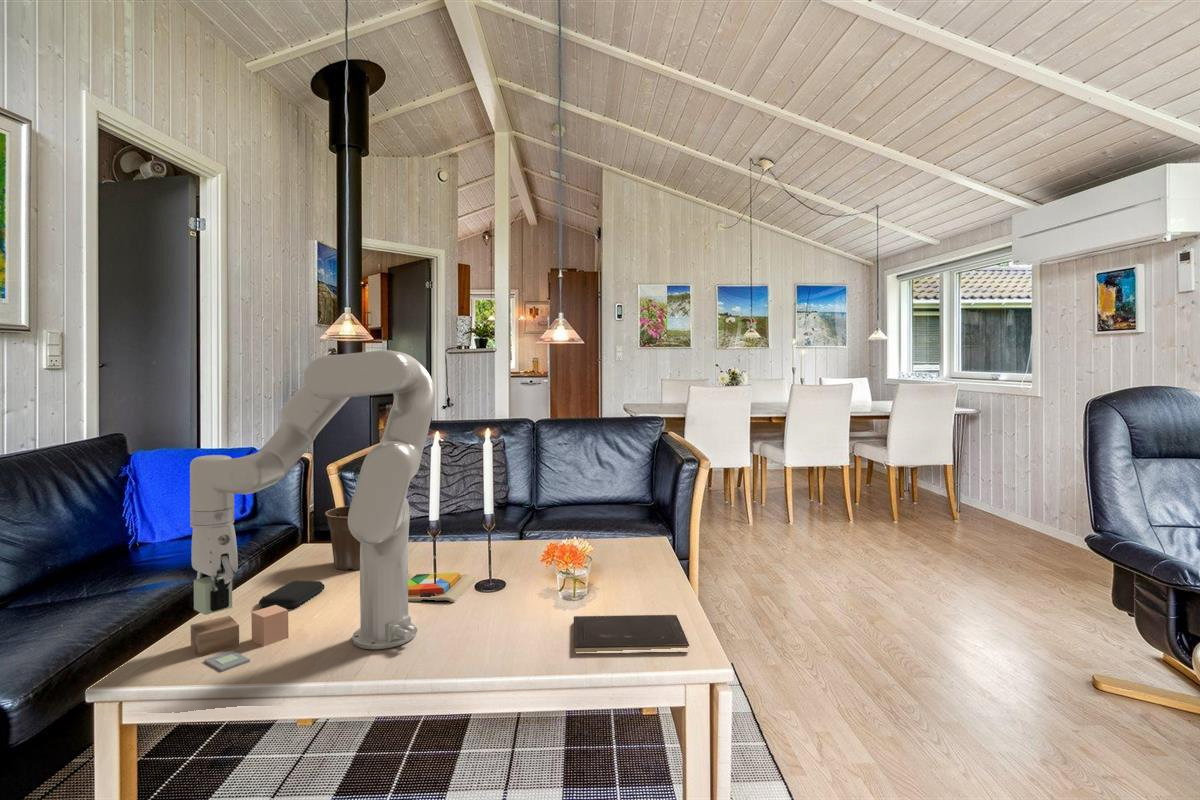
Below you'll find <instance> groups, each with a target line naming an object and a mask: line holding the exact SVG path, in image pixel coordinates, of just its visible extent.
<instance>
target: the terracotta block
mask: <svg viewBox="0 0 1200 800" xmlns="http://www.w3.org/2000/svg"><path fill="white" fill-rule="evenodd" d="M289 638H290V637H289V610H287V609H285V608H282V607H280V606H277V605H273V606H270V607H267V608H263V607H262V608H261V609H258V610H257V609H256V610H254V611H251V642H253V643H254V642H255V643H256V644H258V645H261V646H262V647H266V646H269V645H272V644H276V643H278V642H281V641H284V640H286V639H289Z"/></svg>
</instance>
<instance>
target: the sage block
mask: <svg viewBox="0 0 1200 800" xmlns="http://www.w3.org/2000/svg"><path fill="white" fill-rule="evenodd" d="M222 577H223V576H222ZM222 577H218V578H217V583H218V581H219V580H220V579H222ZM210 591H213V589H212V581H211V576H209V577H204V578H200V579H197V578H196V579H194V580H193V610H194V611H196V612H198V613H200V614H203V615H205V616H207V615H210V614H215V613H217V612H221V611H224V610H228V609H232V608H233V579H232V580H231V582H230V588H229V607H227V608H224V609H220V610H217V611H211V602H210Z"/></svg>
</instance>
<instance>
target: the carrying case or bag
mask: <svg viewBox="0 0 1200 800" xmlns="http://www.w3.org/2000/svg"><path fill="white" fill-rule="evenodd" d="M324 590H325V584H324V583H323V581H319V580H293V581H290V582H288V583H286V584H284V585H283V586H281V587H279V588H276V590H274V591H272V592H270V593H269V594H267V595H263V596H262V597H261V598H260V599H259V601H258V604H259V606H260V607H261V608H262V609H263V608H267V607H270V606H273V605H277V606H280V607H282V608H285V609H292V610H296V609H298V608H299V607H301V606H302V605H304V604H305V602H306V603H307V602H309V601H310V600H312V599H313V598H315V597H316V596H318V595H319V594H321V593H322V592H323V591H324ZM320 592H321V593H320ZM317 594H318V595H317ZM314 596H315V597H314ZM311 598H312V599H311ZM308 600H309V601H308ZM300 605H301V606H300ZM297 607H298V608H297ZM295 608H296V609H295Z"/></svg>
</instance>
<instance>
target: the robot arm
mask: <svg viewBox="0 0 1200 800" xmlns="http://www.w3.org/2000/svg"><path fill="white" fill-rule="evenodd" d="M306 366H307V367H306V369H305V371H304V373H303V382H304V383H303V384H302V385H301V387H299V388H298V389H297V390H296V392H295V393H294V394H292V396H291V397H290V399H289V400H288V401H287V402H285V404H284V405H283V406H282V407H281V409H280V424H279V425H278V428H277V430H276V431H275V432H274V434H273V435H272V436H271V437H270V438H269V439H268V441H266V443H265V444H264V445H263V446H262V447H260V449H259V450H258V451H257V452H255V453H250V454H248V455H244V456H241V457H234V458H232V457H231V456H229V455H223V454H211V455H209V454H208V455H201V456H197V457H194V458H193V459H191V461H190V463H189V464H190V465H189V513H190V514H189V518H190V519H189V521H190V524H189V525H190V526H189V527H190V528H192V535H191V548H190V549H191V559H190V560H191V567H192V569H193V570H195V575H196V579H200V578H204V577H209V576H211V581H212V589H213V591H210V602H211V611H217V610H220V609H224V608H227V607H229V588H230V582H231V580H232V581H233V579H234V576H235V575H234V573H235V572H237V571H238V567H239V563H238V562H239V561H238V560H239V559H238V545H237V544H238V543H237V536H236V529H235V525H234V523H235V494H236V495H250V494H255V493H257V492H259V491H262V490H263V489H266V488H268V487H271V486H273V485H275V484H276V483H278V482H279V481H280V480H282V479H283V478H284V477H285V476H286V475H287V474H288V473H289V472H290V470H291V469H292V468H293V467H294V466H295V465H296V464H297V462H298V461H299V460H300V459H301V458H302V457H303V455H304V454H305V453H306V452H307V450H308V449H309V447H310V446H311V445H312V443H313V442H314V441H315V440H316V437H317V436H318V434H319V433H320V432H321V431H322V430H323V429H324V427H325V426H326V425H327V424H328V423H329V422H330V420H332V418H333V417H334V416H335V415H336V414H337V413H338V412H339V411H340V410H341V408H342V407H343V406H344V405H345V404H346V403H347V401H349V400H350V399H351V398H356V397H365V396H373V395H384V394H385V395H387V394H393V403H392V406H391V408H390V411H389V414H388V416H387V420H386V424H385V428H384V431H383V434H382V438H381V440H380V443H378V444H376V445H375V446H373V447H372V448H371V449H370V450H369V452H368V453H367V454H366V456H365V458H364V460H363V461H362V462H363V463H362V465H361V468H360V471H359V475H358V477H357V481H356V485H355V488H354V491H353V495H352V499H351V502H350V505H349V506H350V509H349V513H348V527H349V530H350V532H351V534H352V535H353V537H354V538H355V539H357V540H358V541H359V542H361V544H360V569H359V596H360V597H359V598H360V599H359V607H360V608H359V609H360V610H359V614H360V615H359V616H360V618H359V619H360V623H359V625H360V627H359V628H358V629H356V631H354V632H353V634H352V640H351V641H352V644H353V646H354V645H355V647H358V648H360V649H365V650H385V649H391V648H395V647H398V646H401V645H403V644H406V643H408V642H410V641H412V639H414V637H415V636H416V635H417V632H418V628H417V626H416V625H415V624H414V623H412V621H411V620H412V617H411V616H410V615H409V602H408V574H409V534H410V533H409V532H410V522H411V521H410V520H411V519H410V517H411V513H410V512H411V511H410V510H411V509H410V503H409V501H408V498H407V493H408V491H409V490H408V489H409V487H410V484H411V480H412V479H413V478H414V477H415V476H416V474H417V473H418V471H419V470H420V465H421V460H422V456H423V453H424V452H423V451H424V448H425V445H426V441H427V438H428V434H429V429H430V425H431V421H432V417H433V414H434V409H435V404H436V403H435V401H436V389H435V386H434V381H433V380H432V377H431V375H430V373H429V372H428V370H427V369H426V368H425V367H424V365H423V364H421V363H420V362H419V361H418V359H415V358H414V357H413V356H411V355H410V354H408V353H405V352H401V351H397V350H391V349H382V350H373V351H361V352H352V353H342V354H330V355H329V354H328V355H321V356H318V357H317V358H315V359H313V360H312V361H311V362H309V364H308V365H306ZM221 571H222V573H218V572H221ZM222 576H223V577H222ZM218 577H222V579H220V580H219V581H218V583H217V578H218Z"/></svg>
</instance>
